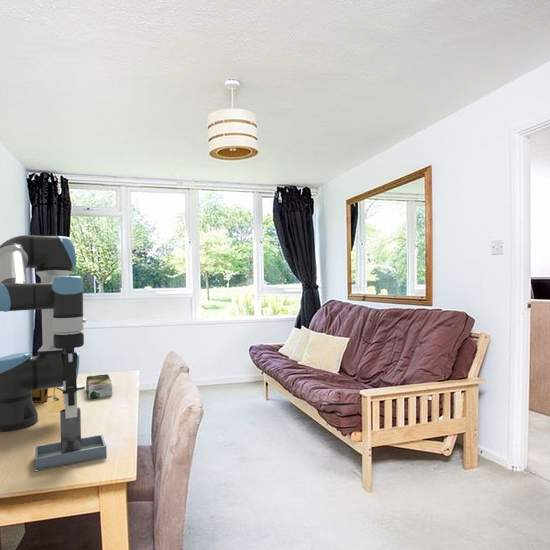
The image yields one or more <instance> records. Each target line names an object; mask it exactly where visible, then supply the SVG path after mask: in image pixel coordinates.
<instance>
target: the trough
mask: <svg viewBox="0 0 550 550" xmlns="http://www.w3.org/2000/svg"><path fill="white" fill-rule="evenodd" d="M107 449H108V448H107V444H106V441H105V439H104V436H103V434H99V435H93V436H86V437H81V450H79V451H74V452H68V453H63V454H61V441H57V442H53V443H52V442H51V443H46V444H42V445H36V446H35V449H34V450H35V454H34V465H35V466H34V471H35V470H39V471H43V470H42V469H44V470H48V469H47V468H49V469H53V468H52V467H54V468H57V467H56V466H60V467H63V466H62V465H65V466H68V464H70V465H73V464H72V463H75V464H79V463H78V462H80V463H83V461H85V462H88V461H87V460H90V461H93V460H92V459H95V460H98V459H97V458H100V459H104V458H103V457H105V458H107V457H108V455H107Z"/></svg>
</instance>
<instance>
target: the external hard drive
mask: <svg viewBox="0 0 550 550" xmlns="http://www.w3.org/2000/svg"><path fill="white" fill-rule="evenodd" d="M56 388H57V389H58V388H59V389H58V390H60V389H61V391H62V390H63V387H56ZM84 388H85V389H86V387H85V386H84V385H81V384H80V383H77V391H79V389H81V390H84Z"/></svg>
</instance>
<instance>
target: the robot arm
mask: <svg viewBox="0 0 550 550" xmlns="http://www.w3.org/2000/svg"><path fill="white" fill-rule="evenodd" d="M75 249H76V248H75V246H74V243H73V240H72V239H71V238H70V237H68V236H60V235H29V234H27V235H23V234H22V235H18V236H14V237H11V238H9V239H7V240H6V241H4V242H2V243H1V244H0V312H4V313H6V312H18V311H33V310H34V311H35V310H36V311H38V310H41V328H42V329H41V331H42V332H41V334H42V338H41V339H42V345H41V347H39V349H38V350H37V355H35V356H34V355H33V356H32V353H30V352H28V351H26V352H25V351H24V352H18V353H12V354H8V355H4V356H1V357H0V433H1V432H9V431H10V430H11V431H15V429H16V430H21V429H23V428H24V429H25V428H27V427H29V426H32V425H34V424H36V423H37V422H38V420H39V413H38V411H37V408H36V405H35V404H34V403H35V402H33V401H32V391H33V390H40V389H48V390H49V389H54V388H55V389H56V388H57V387H63V391H62V395H63V397H62V398H63V400H62V401H63V405H64V407H65V408H64V409H65V412H66V419H67V418H73V417H77V408H78V390H77V384H78V383H77V379H78V375H79V369H80V353H79V351H75V349H77V348H81V347H83V346H84V345H85V336H84V335H85V333H84V332H82V331H84V324H85V323H86V322H87V320H86V319H85V318H84V282H83V281H84V280H83V278H82V276H80V275H72V272H73V271H72V270H73V269H75V268H76V267H77V255H76V250H75ZM27 269H35V274H36V275H37V276H38V277H39V278H40V282H36V283H33V282H31V283H30V282H28V275H27ZM20 428H21V429H20ZM11 431H10V432H11Z"/></svg>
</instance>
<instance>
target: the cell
mask: <svg viewBox="0 0 550 550" xmlns="http://www.w3.org/2000/svg"><path fill="white" fill-rule="evenodd" d="M81 413H82V412H81V407H77V417H73V418H67V419H66V412H65V408H64V409H61V410H60V411H59V414H60V415H59V419H60V420H59V421H60V423H59V424H60V442H61V454H63V453H68V452H74V451H79V450H81V438H82V423H81V421H82V420H81V419H82V418H81V417H82V416H81Z"/></svg>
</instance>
